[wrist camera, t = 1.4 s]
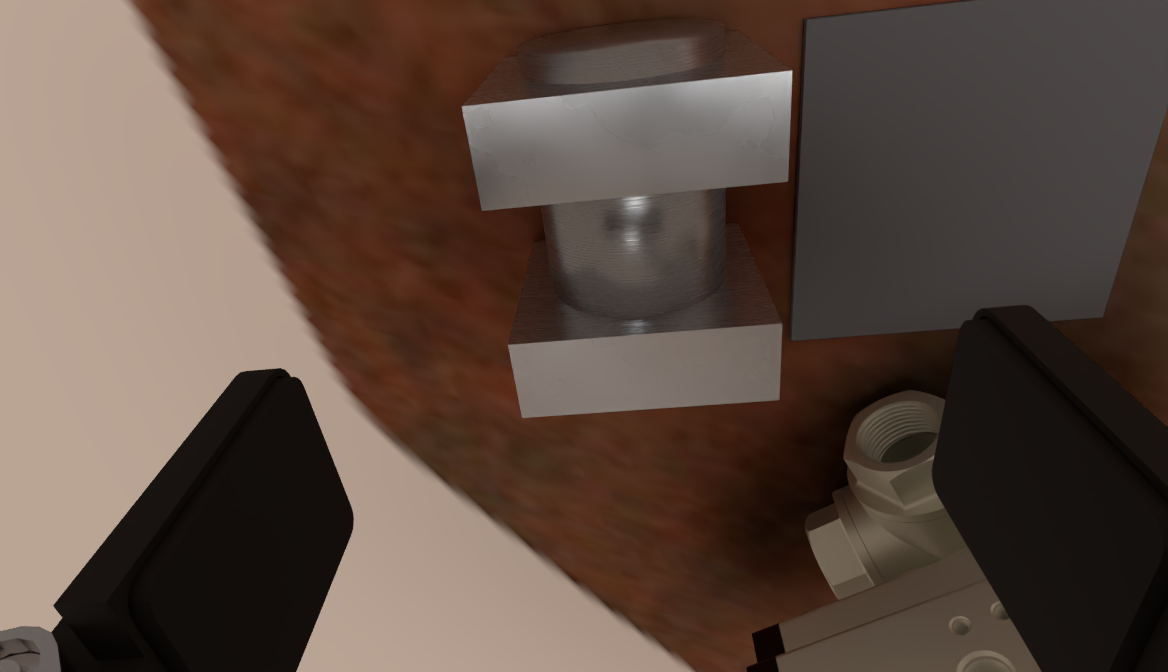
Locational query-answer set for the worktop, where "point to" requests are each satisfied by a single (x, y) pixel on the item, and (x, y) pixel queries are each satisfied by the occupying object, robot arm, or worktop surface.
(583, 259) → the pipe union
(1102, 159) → the joint mat
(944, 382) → the worktop surface
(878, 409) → the ball valve
